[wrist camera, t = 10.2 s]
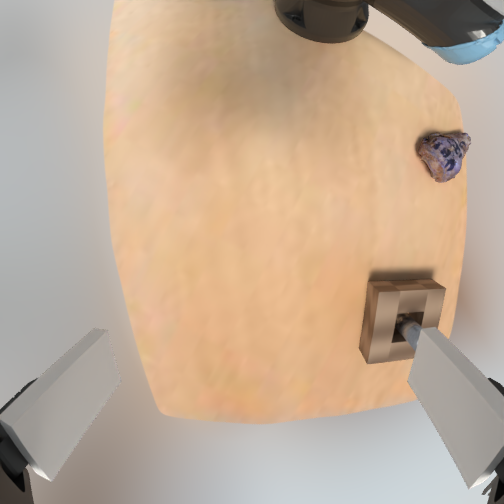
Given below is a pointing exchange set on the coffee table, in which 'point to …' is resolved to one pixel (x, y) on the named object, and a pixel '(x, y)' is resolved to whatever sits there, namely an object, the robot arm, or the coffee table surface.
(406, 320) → the pin
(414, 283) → the socket block
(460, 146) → the purple lumpy piece
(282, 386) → the coffee table surface
